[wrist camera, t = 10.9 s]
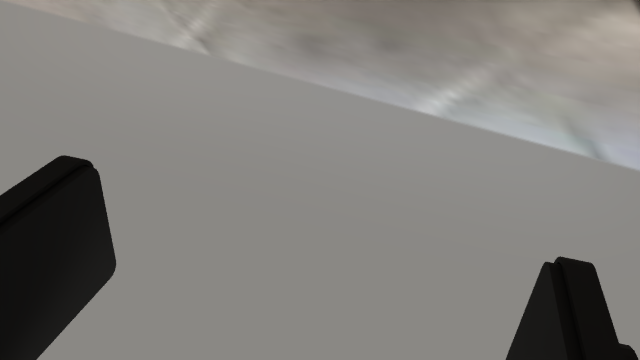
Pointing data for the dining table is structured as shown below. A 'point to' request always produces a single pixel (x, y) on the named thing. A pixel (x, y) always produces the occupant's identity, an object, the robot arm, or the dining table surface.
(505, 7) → the dining table surface
